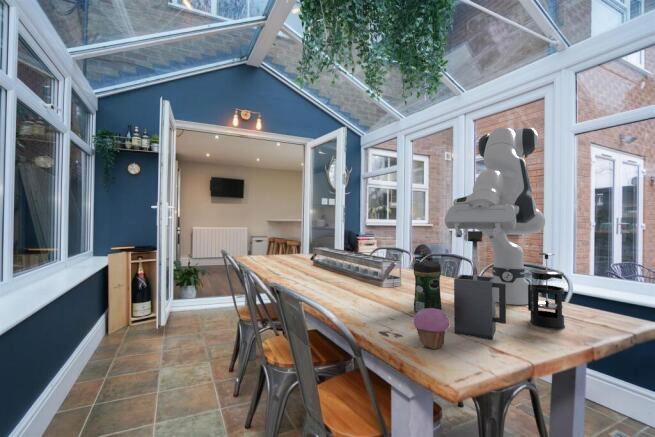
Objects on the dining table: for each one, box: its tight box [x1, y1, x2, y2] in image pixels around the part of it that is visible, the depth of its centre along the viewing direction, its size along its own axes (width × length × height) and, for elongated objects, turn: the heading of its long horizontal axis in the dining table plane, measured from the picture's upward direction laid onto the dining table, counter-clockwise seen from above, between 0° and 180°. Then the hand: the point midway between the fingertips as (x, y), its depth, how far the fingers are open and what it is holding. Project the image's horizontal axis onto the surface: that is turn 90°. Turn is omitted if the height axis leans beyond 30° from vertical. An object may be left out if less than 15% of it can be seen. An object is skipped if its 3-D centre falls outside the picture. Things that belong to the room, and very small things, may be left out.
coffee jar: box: [413, 260, 443, 313], centre depth 117 cm, size 10×8×19 cm
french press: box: [527, 252, 566, 330], centre depth 103 cm, size 12×9×23 cm
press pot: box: [453, 273, 507, 341], centre depth 95 cm, size 10×13×16 cm
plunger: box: [467, 230, 483, 280], centre depth 96 cm, size 8×8×16 cm
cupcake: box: [413, 308, 450, 350], centre depth 84 cm, size 9×9×10 cm
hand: (474, 236), depth 95 cm, fingers open, 8 cm apart
